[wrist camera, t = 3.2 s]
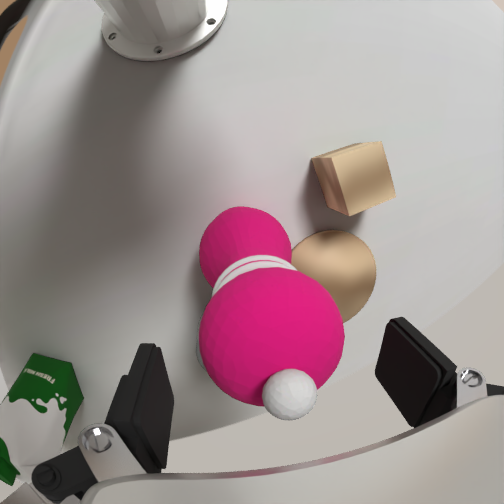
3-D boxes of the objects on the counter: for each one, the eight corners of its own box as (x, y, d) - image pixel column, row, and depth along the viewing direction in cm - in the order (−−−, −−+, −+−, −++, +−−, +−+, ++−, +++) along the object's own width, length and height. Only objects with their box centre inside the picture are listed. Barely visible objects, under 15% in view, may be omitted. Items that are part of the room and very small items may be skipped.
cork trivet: (277, 232, 26) (279, 234, 26) (377, 228, 27) (381, 230, 27) (276, 330, 30) (278, 334, 29) (365, 318, 31) (368, 321, 30)
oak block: (310, 158, 25) (331, 157, 20) (354, 143, 25) (381, 141, 20) (327, 206, 26) (349, 216, 22) (368, 190, 26) (396, 196, 22)
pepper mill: (291, 219, 26) (437, 341, 7) (259, 285, 28) (324, 468, 9) (219, 188, 24) (226, 270, 6) (191, 259, 26) (152, 449, 7)
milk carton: (75, 358, 28) (15, 481, 9) (91, 404, 31) (55, 514, 12) (26, 345, 27) (-40, 444, 8) (45, 391, 29) (0, 485, 11)
